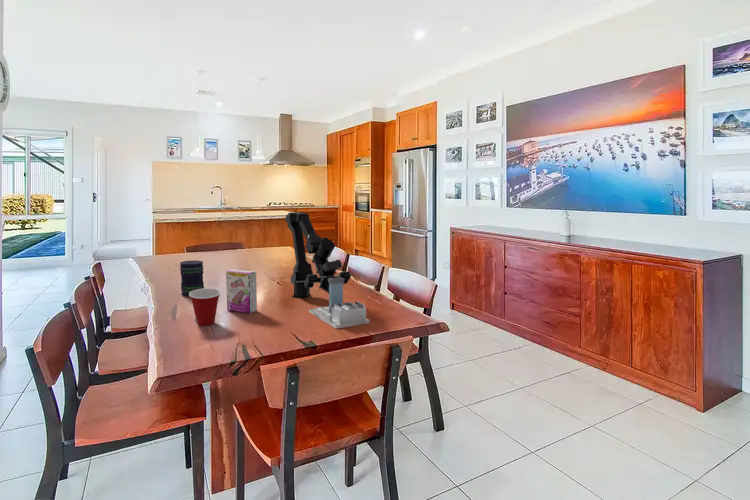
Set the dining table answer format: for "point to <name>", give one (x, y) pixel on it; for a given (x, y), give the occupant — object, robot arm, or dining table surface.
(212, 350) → the dining table surface
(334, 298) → the light blue bar
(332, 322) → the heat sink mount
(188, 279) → the storage jar
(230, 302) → the candy bar box
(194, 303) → the plastic cup
